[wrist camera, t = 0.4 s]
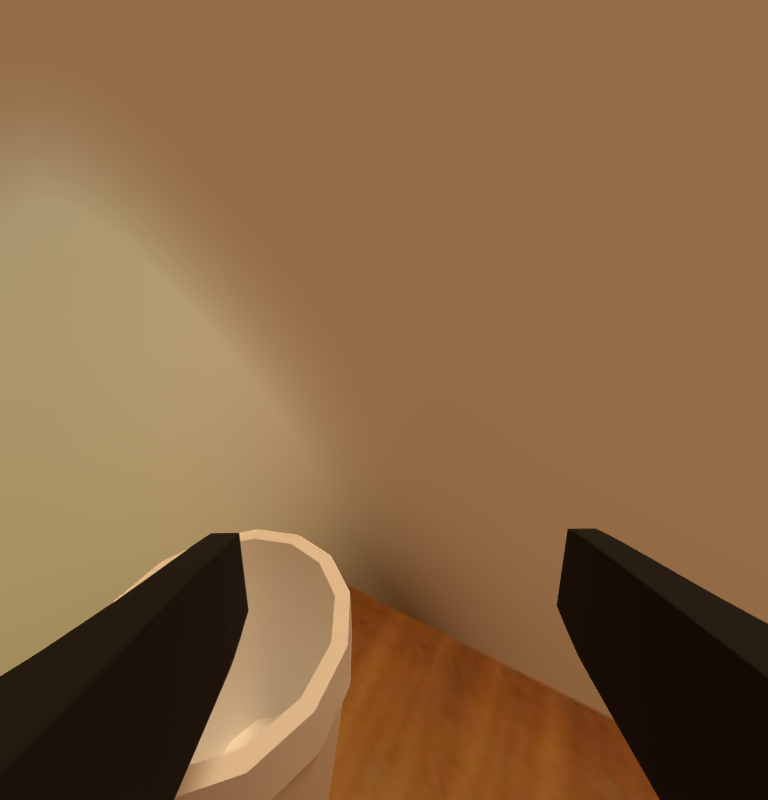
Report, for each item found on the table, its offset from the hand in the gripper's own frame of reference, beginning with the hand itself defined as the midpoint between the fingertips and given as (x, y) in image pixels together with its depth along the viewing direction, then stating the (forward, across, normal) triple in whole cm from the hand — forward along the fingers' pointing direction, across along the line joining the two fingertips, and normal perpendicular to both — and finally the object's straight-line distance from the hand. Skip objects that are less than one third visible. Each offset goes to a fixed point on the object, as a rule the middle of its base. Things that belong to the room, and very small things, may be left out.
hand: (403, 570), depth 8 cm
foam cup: (+6, +6, +19) cm, 21 cm away
